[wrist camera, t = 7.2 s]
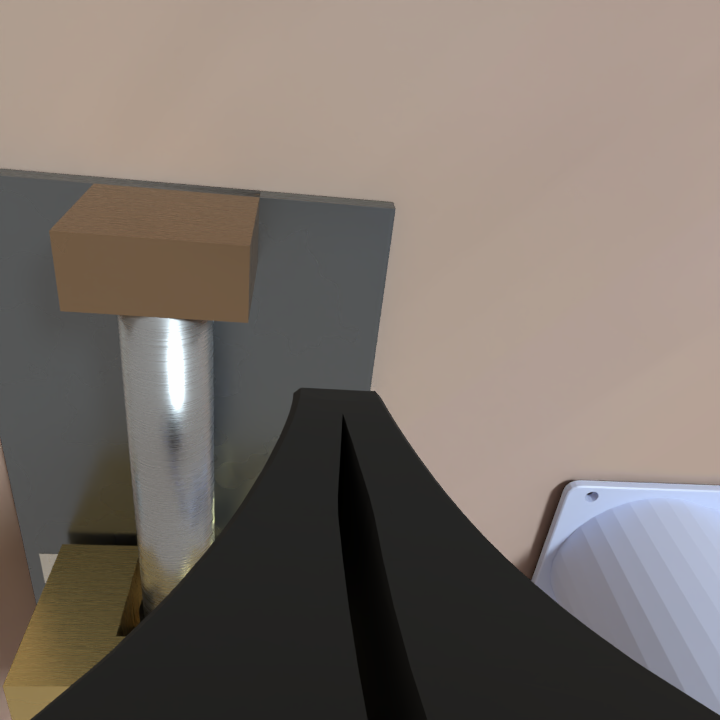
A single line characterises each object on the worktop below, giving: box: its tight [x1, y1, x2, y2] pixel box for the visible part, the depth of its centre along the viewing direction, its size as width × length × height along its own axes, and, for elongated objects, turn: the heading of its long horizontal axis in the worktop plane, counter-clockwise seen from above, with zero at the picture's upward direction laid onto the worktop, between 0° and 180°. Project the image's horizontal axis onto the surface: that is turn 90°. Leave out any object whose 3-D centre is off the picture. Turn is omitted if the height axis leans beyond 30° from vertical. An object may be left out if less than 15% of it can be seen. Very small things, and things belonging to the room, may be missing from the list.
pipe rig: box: [0, 169, 395, 622], centre depth 22 cm, size 12×22×4 cm, turn 174°
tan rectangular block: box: [3, 544, 142, 720], centre depth 23 cm, size 9×4×6 cm, turn 84°
